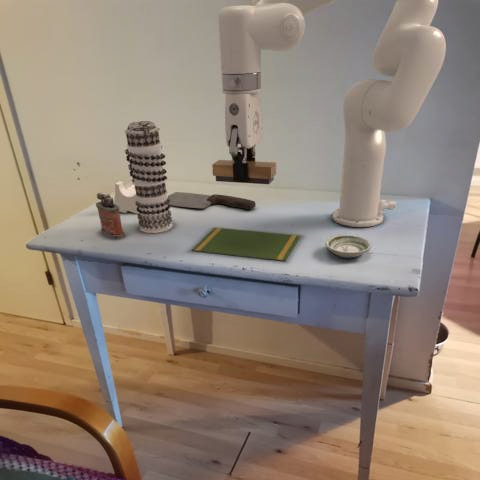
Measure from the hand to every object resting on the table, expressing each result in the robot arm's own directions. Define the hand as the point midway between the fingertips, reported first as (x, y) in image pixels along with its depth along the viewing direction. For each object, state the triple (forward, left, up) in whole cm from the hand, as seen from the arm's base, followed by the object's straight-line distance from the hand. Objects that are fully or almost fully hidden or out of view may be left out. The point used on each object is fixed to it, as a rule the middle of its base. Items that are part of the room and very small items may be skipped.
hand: (244, 178), depth 97 cm
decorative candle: (+19, -19, -15) cm, 31 cm away
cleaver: (+3, -31, -15) cm, 35 cm away
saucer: (-19, +13, -15) cm, 28 cm away
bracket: (+22, -38, -15) cm, 47 cm away
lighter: (+30, -18, -15) cm, 38 cm away
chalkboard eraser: (0, 0, 0) cm, 0 cm away
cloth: (0, 0, -15) cm, 15 cm away
